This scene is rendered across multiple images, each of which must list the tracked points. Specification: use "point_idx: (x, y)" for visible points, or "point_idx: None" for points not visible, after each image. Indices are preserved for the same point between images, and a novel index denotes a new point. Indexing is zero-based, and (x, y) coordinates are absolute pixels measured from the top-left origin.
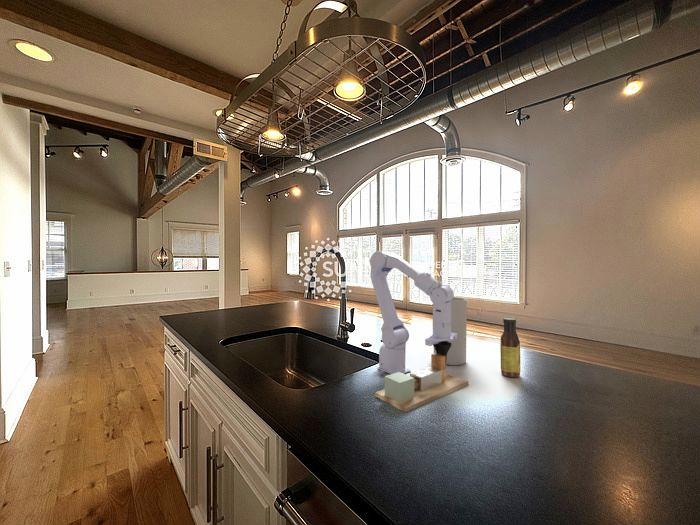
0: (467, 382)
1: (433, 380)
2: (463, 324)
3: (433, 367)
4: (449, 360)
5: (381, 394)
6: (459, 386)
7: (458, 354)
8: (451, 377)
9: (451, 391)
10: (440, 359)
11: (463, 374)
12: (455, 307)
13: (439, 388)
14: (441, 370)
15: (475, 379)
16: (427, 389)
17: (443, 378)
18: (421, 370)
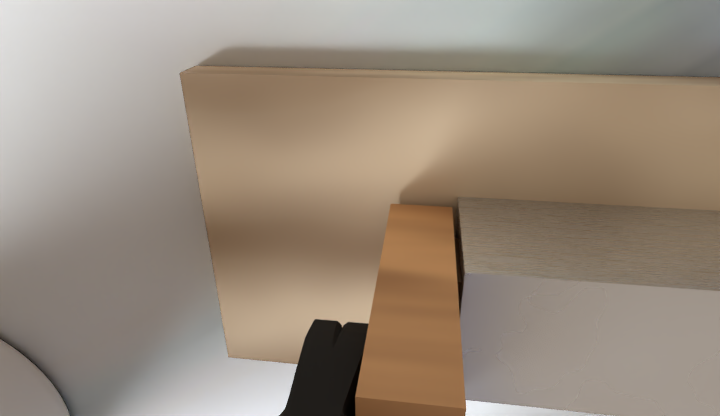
0: (199, 71)
1: (609, 237)
2: None
3: None
4: (6, 387)
5: None
6: (339, 73)
7: None
8: (247, 219)
9: (477, 73)
10: (460, 391)
11: (58, 214)
12: None
13: (576, 153)
14: (470, 271)
15: (40, 93)
16: (688, 209)
17: (418, 220)
18: (655, 400)
